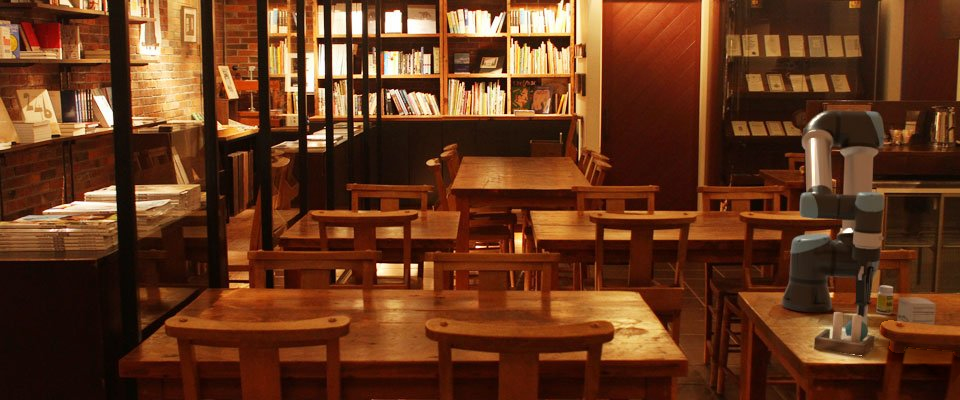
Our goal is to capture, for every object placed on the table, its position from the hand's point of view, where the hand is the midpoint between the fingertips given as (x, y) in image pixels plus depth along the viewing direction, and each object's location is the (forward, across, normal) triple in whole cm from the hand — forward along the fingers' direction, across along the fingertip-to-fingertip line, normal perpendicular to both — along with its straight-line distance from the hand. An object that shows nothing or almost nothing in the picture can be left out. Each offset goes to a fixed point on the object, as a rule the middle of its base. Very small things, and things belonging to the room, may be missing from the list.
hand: (861, 326), depth 299 cm
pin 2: (+2, -17, -2) cm, 18 cm away
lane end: (+2, -19, 0) cm, 19 cm away
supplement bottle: (+2, +31, 0) cm, 31 cm away
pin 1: (+2, -17, +2) cm, 18 cm away
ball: (-1, -10, -1) cm, 10 cm away
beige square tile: (+2, -6, 0) cm, 6 cm away
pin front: (+1, -14, 0) cm, 14 cm away
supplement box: (+2, -3, -15) cm, 15 cm away
